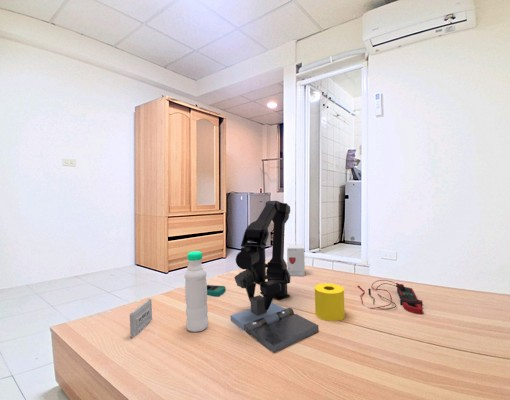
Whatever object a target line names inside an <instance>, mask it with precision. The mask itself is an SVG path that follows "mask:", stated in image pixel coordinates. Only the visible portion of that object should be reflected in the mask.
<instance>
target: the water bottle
mask: <svg viewBox="0 0 510 400" xmlns="http://www.w3.org/2000/svg"><path fill="white" fill-rule="evenodd" d="M202 261H203V252H202V251H198V250H197V251H196V250H195V251H190V252H188V253H187V262H188V265H187V267H186V270H185V272H184V279H185V283H184V284H185V285H184V290H185V291H184V294H185V295H184V297H185V304H186V306H185V307H186V308H185V317H186V320H185V322H186V329H187V330H188V331H189V332H192V333H193V332H194V333H196V332H197V333H198V332H202V331H203V330H205V329H207V328H208V326H209V316H208V314H209V313H208V310H209V309H208V296H207V285H208V284H207V271H206V269H205V267H204V265H203V264H202Z"/></svg>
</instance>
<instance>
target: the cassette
mask: <svg viewBox="0 0 510 400" xmlns="http://www.w3.org/2000/svg"><path fill="white" fill-rule="evenodd" d="M152 303H153V302H152V298H148V299H147V300H146V301H145V302H143V303H142V304H141V305H139V306H138V307H137V308H136V309H134V310H133V311H132V312H130V313H129V327H130V328H129V330H130V331H129V332H130V333H129V335H130V338H131V339H134V338H135V337H136V336H138V335H139V334H140V333H141V332H142V331H143V330H144V329H145V328H146V327H148V325H150V324H151V322H152V321H153V309H152V308H153V307H152V305H153V304H152ZM151 320H152V321H151ZM150 321H151V322H150ZM149 323H150V324H149Z"/></svg>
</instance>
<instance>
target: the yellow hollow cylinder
mask: <svg viewBox="0 0 510 400" xmlns="http://www.w3.org/2000/svg"><path fill="white" fill-rule="evenodd" d="M314 314H315V316H316V317H317V318H319V319H320V320H323V321H327V322H338V321H342V320H343V319H345V316H346V315H345V289H344V287H343V286H342V285H340V284H335V283H328V282H327V283H326V282H325V283H320V284H319V283H318V284H316V285H315V286H314Z"/></svg>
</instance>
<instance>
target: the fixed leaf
mask: <svg viewBox="0 0 510 400" xmlns="http://www.w3.org/2000/svg"><path fill="white" fill-rule="evenodd" d="M276 314H277V315H278V316H279V321H277V322H274V323H271V324H269V325H267V323H266V320H265V319H264V318H260V319H257V320H255V321H252V322H249V323H247V324H246V326H245V327H246V330H245V331H246V333H247V334H248V335H250V336H251V337H252V338H253V339H255V341H257V342H258V343H260V344H261V345H263V346H264V347H265V348H267V350H269V351H270V352H272V353H274V354H275V353H277V352H279V351H280V350H284V349H286V348H287V347H289V346H291V345H293V344H296V343H298V342H300V341H302V340H304V339H306V338H308V337H310V336H312V335H314V334H316V333H319V332H320V330H319V324H317V323H315V322H313V321H311V320H309V319H307V318H305V317H303V316H302V315H299V314H297V313H295V311H294V309H293V308H292V307H288V308H285V310H282V311H279V312H277V313H276Z"/></svg>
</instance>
